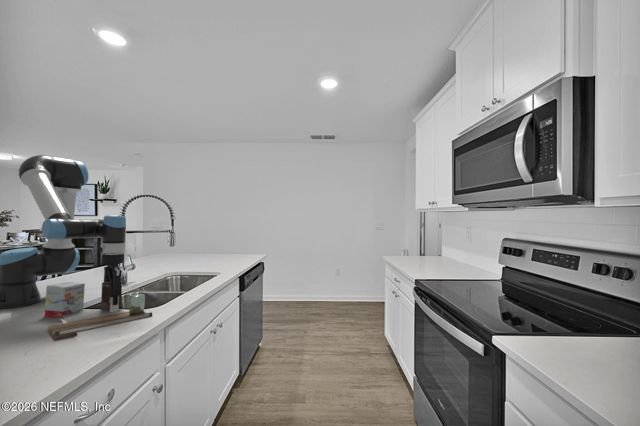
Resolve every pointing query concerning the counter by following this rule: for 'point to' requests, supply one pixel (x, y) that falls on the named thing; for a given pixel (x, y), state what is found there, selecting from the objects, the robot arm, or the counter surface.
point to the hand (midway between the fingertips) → (111, 310)
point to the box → (105, 296)
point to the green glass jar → (136, 304)
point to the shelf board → (91, 324)
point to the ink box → (64, 299)
